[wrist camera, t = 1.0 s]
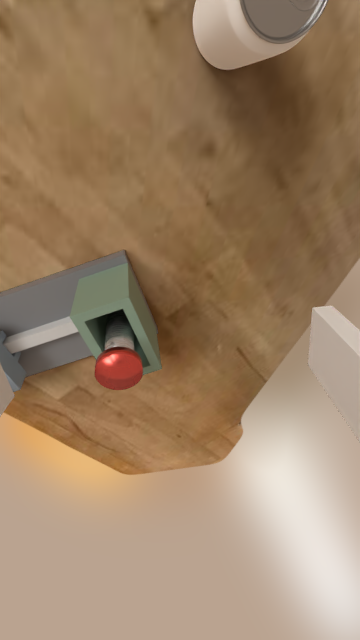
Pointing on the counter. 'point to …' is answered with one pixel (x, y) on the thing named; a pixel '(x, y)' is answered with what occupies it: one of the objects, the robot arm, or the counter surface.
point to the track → (76, 315)
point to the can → (251, 28)
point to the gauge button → (118, 355)
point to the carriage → (11, 365)
